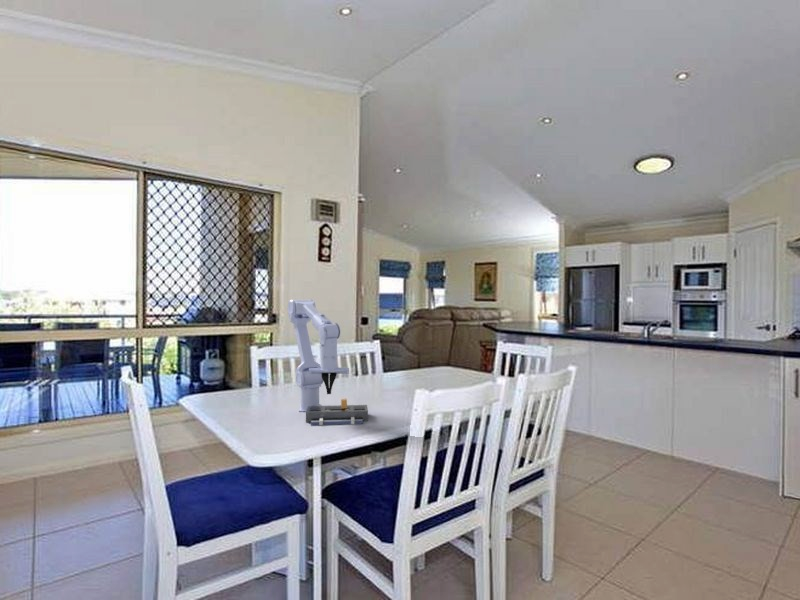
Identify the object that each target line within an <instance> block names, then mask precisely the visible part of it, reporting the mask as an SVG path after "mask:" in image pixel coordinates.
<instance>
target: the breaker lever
mask: <svg viewBox="0 0 800 600" xmlns="http://www.w3.org/2000/svg"><path fill="white" fill-rule="evenodd" d="M340 401H341V402H340V403H341V404H340V405H341V409H345V408H347V405H348V398H341V399H340Z"/></svg>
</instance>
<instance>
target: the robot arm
mask: <svg viewBox="0 0 800 600" xmlns="http://www.w3.org/2000/svg"><path fill="white" fill-rule="evenodd" d="M287 314H288V318H289V322H290V323H292V324H293V327H294V328H293V329H294V333H295V338H296V344H297V349H298V354H299V359H300V364H299V365H298V366H297V367H296V368H295V382H296V385H297V386H298V387H299V388H300V407H299V409H298V412H299V413H300V412H301V413H303V412H305V413H306V411H307V408H308V406H322V404H321V403H320V387H322V384H323V383H324V386H325V389H326V395H331V394H332V389H333V385H334V383H335V380H336V379H337V375H340V374H342V375H343V374H344V375H349V374H350V367H338V339H340V337H341V328H340V325H339V324H338V322H332V321H331V320H330V319H329V318H328V317H327V316H326V314H325V313H320V312H319V311H318V310H317V307H316V302H315V301H314V299H312V298H310V299H290V300H289V302H288V304H287ZM309 322H311V323H312V326H313V327H314V328H315V329H316V330H317V332H318V338H319V344H320V349H321V350H320V351H321V352H320V353H321V355H320V359H321V360H320V362H321V363H320V364H319V363H318V362H316V361H315V360H314V355H313V350H312V344H311V341H310V336H309V331H308V327H307V324H308V323H309Z"/></svg>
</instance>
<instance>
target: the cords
mask: <svg viewBox="0 0 800 600" xmlns="http://www.w3.org/2000/svg"><path fill="white" fill-rule="evenodd" d="M363 422H364V421H363V419H354V417H351V419H327V420H323V418H320V419H319V420H311V422H310V426H327V425H328V426H329V425H331V426H332V425H361V424H364V423H363Z"/></svg>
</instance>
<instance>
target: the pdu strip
mask: <svg viewBox="0 0 800 600" xmlns="http://www.w3.org/2000/svg"><path fill="white" fill-rule="evenodd" d="M351 417H354V419H363V422H368V421H369V410H368V404H347V408H345V409H341V404H340V405H321V406H308V408H307V411H306V412H305V423H311V420H319V419H320V418H323V420H327V419H351Z"/></svg>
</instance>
